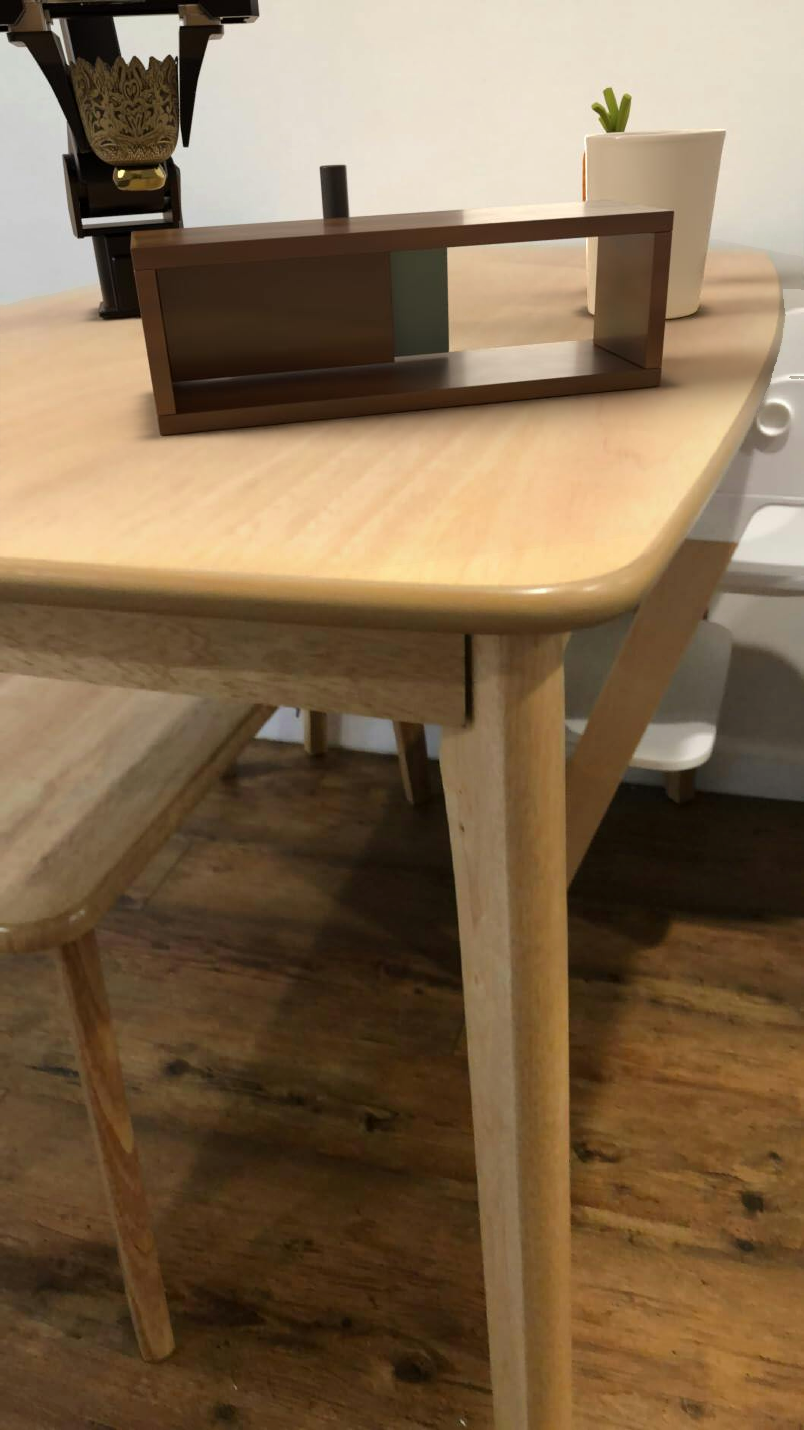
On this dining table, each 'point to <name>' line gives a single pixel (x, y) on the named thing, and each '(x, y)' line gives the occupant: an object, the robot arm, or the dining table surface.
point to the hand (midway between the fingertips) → (135, 149)
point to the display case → (377, 315)
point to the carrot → (609, 120)
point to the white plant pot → (660, 197)
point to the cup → (129, 116)
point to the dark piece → (403, 280)
